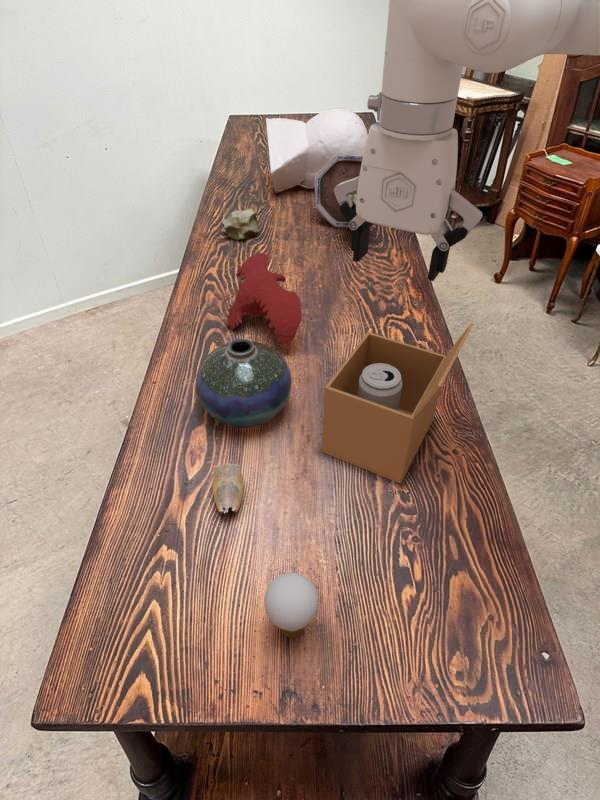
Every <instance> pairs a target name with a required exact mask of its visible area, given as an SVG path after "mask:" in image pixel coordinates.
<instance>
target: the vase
mask: <svg viewBox="0 0 600 800" xmlns="http://www.w3.org/2000/svg"><path fill="white" fill-rule="evenodd" d="M292 384H293V378H292V372H291V369H290V366H289V364H288V363H287V360H286V359H285V358H284V356H283V355H282V354H280V352H279V351H277V350H276V349H275V348H273V347H271V346H269V345H268V344H264V343H262V342H258V341H253V340H249V339H247V338H238V339H234V340H232V341H230V342H227V343H224V344H222V345H220V346H218V347H216V348H215V349H213V350H211V352H209V353H208V354H207V355H206V357H205V358H204V359H203V360H202V361H201V363H200V365H199V367H198V369H197V373H196V377H195V391H196V395H197V398H198V400H199V402H200V404H201V406H202V408H203V409H204V410H205V412H206V413H207V414H208V415H209V416H211V417H212V419H214V420H215V421H217V422H219V423H220V424H223V425H224V426H228V427H231V428H238V429H250V428H256V427H259V426H262V425H264V424H267V423H269V422H270V421H272V420H273V419H274V418H276V417H277V416H278V415H279V414H280V413H281V412H282V411H283V409H284V408H285V406H286V405H287V403H288V401H289V398H290V395H291V392H292Z"/></svg>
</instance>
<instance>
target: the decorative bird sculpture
mask: <svg viewBox="0 0 600 800" xmlns="http://www.w3.org/2000/svg"><path fill="white" fill-rule="evenodd" d="M268 261H269V256H268V255H267V254H265V253H264V252H259V253H255V254H253V255H251V256H249V257H248V258H246V260H245V261H244V262H243V263H242V264H241V266H240V267H239V268H238V270H237V271H236V273H235V276H236V278H238V277H239V278H241V281H242V282H241V284H240V285H239V287H238V290H237V293H236V296H235V299H234V302H233V304H229V308H228V309H227V312H228V314H227V315H226V317H227V321H226V322H227V328H230V329H231V330H234V329H235V328H236V327H239V325H240V324H242V317H243V316H244V315H245V314H249V315H250V316H255V317H260V318H265V319H266V320H269V324H268V328H270V329H273V328H274V335H279V336H280V337H278V342H279V343H283V344H285V345H286V346H288V345H290V343H291V342H292V341H293V339H294V337H295V336H296V335H297V332H298V329H299V327H300V324H301V322H302V318H303V312H302V304H301V300H300V298H299V296H298V294H297V292H295V291H290V290H287V289H284V288H283V287H282V286H281V285H280V284H279V282H283V283H285V282H286V278H285V276H284V275H282V273H277V272H271V271H270V270H269V269H268Z"/></svg>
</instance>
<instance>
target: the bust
mask: <svg viewBox="0 0 600 800" xmlns="http://www.w3.org/2000/svg"><path fill="white" fill-rule="evenodd" d="M265 121H266V133H267V144H268V145H267V146H268V155H269V156H268V157H269V165H270V166H269V167H270V174H271V175H270V176H271V180H272V185H273V189H274V193H275V194H278V193H280V192H283V191H285V190H283V189H286V190H289V189H292V188H294V187H296V186H298V187H301V188H303V189H310V190H314V189H313V188H315V176H316V175H317V174H318V172H319V171H320V170H321V169H322V168H323V167H324V166H325V165H326V164H327V163H328V162H329V161H330V160H331V159H332V158H333V157H334V156H336V155H344V154H345V155H363V154H364V149H365V145H366V141H367V137H368V131H367V128H366V126H365V124H364V121H363V120H362V118H361V117H360V116H359V115H358V114H357V113H356V112H355V111H353V110H350V109H347V108H337V107H336V108H335V107H334V108H330V109H327V110H324V111H321V112H319V113H318V114H316V115H314V116H312V117H311V118H310V119H308V120H307V121H306V122H304V121H303V120H298V119H294V118H292V119H290V118H284V117H283V118H282V117H276V118H275V117H273V118H268V117H266V118H265ZM299 183H300V184H301V185H304V186H307V187H312V188H307V187H304V186H301V185H298V184H299ZM288 188H289V189H288ZM278 190H282V191H278ZM275 191H276V192H275Z"/></svg>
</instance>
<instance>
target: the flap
mask: <svg viewBox="0 0 600 800" xmlns="http://www.w3.org/2000/svg"><path fill="white" fill-rule="evenodd" d="M474 325H475V324H474V323H473V322H471V323H470V324H469V325H468V326H467V328H466V329H465V330H464V332H463V333H462V334H461V336H459V338H458V339H457V341H456V342H454V344H453V345H452V347H450V349H449V351H448V352H447V353H446V354H445V356H446V357H445V359H444V361H443V362H442V364H441V366H440V368H439V370H438V371H437V373H436V375H435V377H434V379H433V380H432V382H431V384H430V386H429V388H428V389H427V391H426V393H425V395H424V397H423V398H422V400H421V402H420V404H419V406H418V407H417V409H416V411H415V413H414V415H415V416H417V414H418V413H419V412H420V411H421V410H422V408H423V407H424V406H425V405H426V404H427V402H428V401H429V400H430V399H431V398H432V397H433V395H434V394H435V393H436V392H437V391H438V389H439V388H440V387H441V388H442V385H443V383H444V381H445V380H446V378H447V375H448V374H449V372H450V370H451V368H452V366H453V365H454V363H455V361H456V359H457V357H458V355H459V353H460V352H461V350H462V348H463V346H464V344H465V342H466V340H467V338H468V336H469V334H470V332H471V331H472V329H473V327H474Z"/></svg>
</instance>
